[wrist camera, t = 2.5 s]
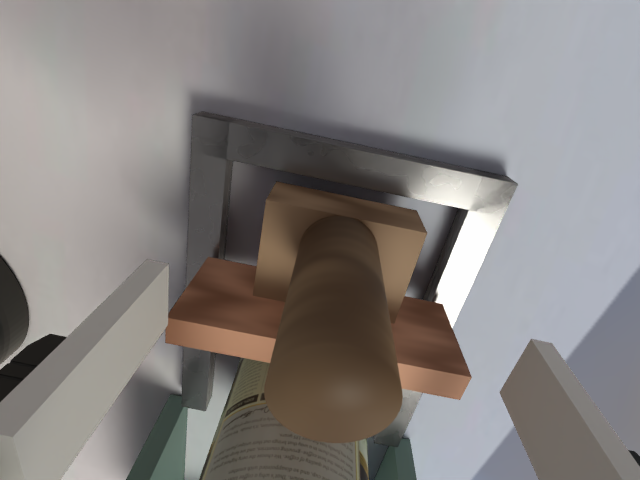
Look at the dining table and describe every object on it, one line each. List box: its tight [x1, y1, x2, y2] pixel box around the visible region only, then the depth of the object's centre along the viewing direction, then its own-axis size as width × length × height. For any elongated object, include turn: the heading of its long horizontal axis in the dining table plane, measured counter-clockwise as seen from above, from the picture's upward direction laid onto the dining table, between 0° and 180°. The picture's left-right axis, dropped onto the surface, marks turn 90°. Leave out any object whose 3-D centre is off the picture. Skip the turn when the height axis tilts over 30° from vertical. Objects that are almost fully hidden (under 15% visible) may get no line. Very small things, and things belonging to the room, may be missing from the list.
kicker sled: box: [165, 181, 472, 443], centre depth 17 cm, size 15×7×12 cm, turn 79°
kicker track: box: [181, 111, 518, 447], centre depth 26 cm, size 18×23×2 cm
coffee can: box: [199, 358, 369, 480], centre depth 23 cm, size 10×10×14 cm
